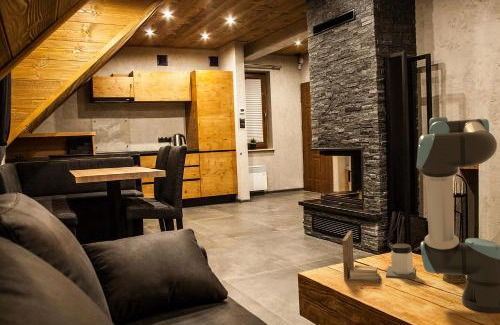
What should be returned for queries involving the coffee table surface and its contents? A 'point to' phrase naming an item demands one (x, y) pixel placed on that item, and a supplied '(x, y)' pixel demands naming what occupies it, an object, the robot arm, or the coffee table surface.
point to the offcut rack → (358, 271)
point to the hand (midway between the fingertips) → (441, 200)
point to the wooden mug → (454, 278)
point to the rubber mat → (394, 275)
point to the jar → (402, 259)
